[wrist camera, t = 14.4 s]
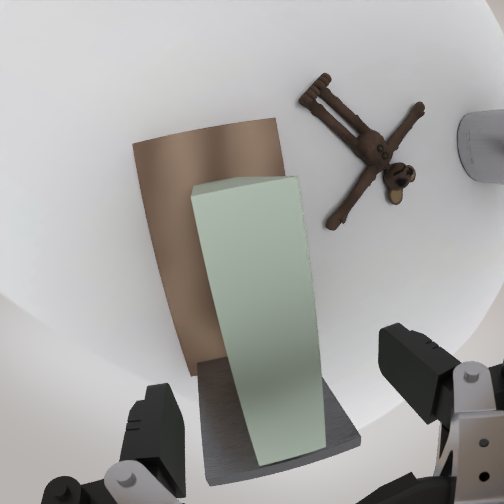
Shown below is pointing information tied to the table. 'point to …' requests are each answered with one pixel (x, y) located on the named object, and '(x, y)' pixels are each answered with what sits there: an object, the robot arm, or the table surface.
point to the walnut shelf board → (183, 219)
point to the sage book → (265, 308)
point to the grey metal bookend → (237, 435)
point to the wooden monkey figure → (363, 147)
